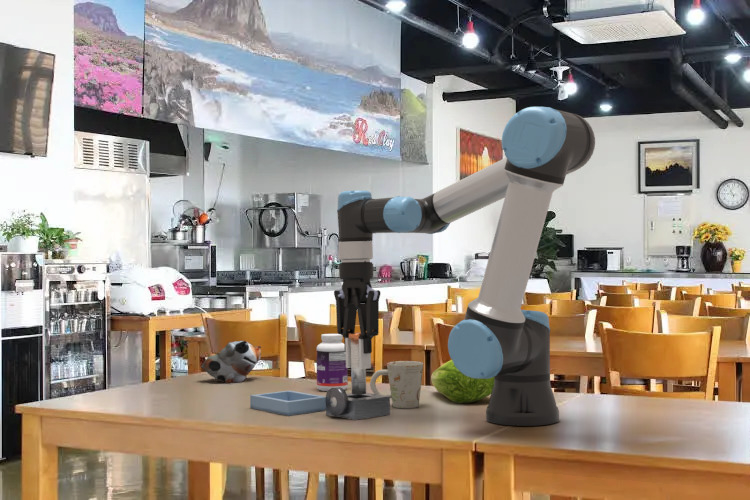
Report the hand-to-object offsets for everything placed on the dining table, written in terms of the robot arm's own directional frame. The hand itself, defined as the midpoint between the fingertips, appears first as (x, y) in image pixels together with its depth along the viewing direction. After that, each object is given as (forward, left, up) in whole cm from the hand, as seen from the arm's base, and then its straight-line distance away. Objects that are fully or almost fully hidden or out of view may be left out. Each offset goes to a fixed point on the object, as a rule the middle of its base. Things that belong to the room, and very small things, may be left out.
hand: (358, 367), depth 217 cm
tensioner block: (0, 0, -10) cm, 10 cm away
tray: (+17, +7, -10) cm, 21 cm away
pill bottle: (+35, -20, -11) cm, 42 cm away
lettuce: (+2, -33, -11) cm, 35 cm away
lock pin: (0, 0, -6) cm, 6 cm away
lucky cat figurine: (+71, -12, -11) cm, 72 cm away
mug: (+3, -14, -11) cm, 18 cm away
